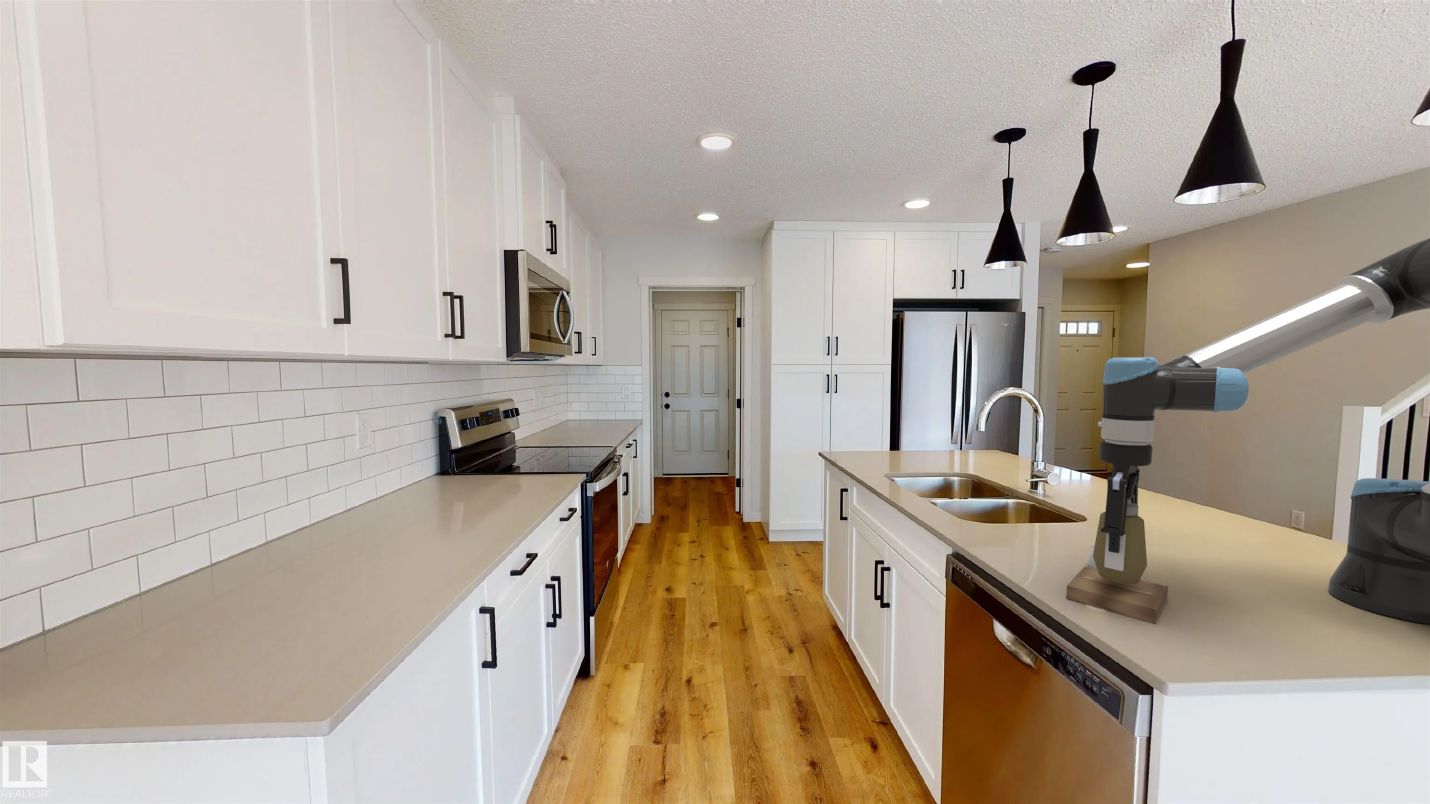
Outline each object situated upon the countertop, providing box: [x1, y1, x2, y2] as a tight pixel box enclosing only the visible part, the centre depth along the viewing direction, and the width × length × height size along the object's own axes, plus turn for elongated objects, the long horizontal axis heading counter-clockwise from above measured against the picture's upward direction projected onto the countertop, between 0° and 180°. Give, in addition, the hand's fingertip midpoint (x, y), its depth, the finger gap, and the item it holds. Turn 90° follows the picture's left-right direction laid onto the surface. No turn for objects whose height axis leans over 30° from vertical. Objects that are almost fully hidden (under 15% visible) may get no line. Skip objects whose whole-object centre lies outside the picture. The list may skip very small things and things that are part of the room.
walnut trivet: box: [1065, 566, 1169, 625], centre depth 97 cm, size 13×13×3 cm
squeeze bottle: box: [1093, 499, 1148, 584], centre depth 96 cm, size 8×8×18 cm
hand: (1119, 561), depth 97 cm, fingers closed on squeeze bottle, 8 cm apart
